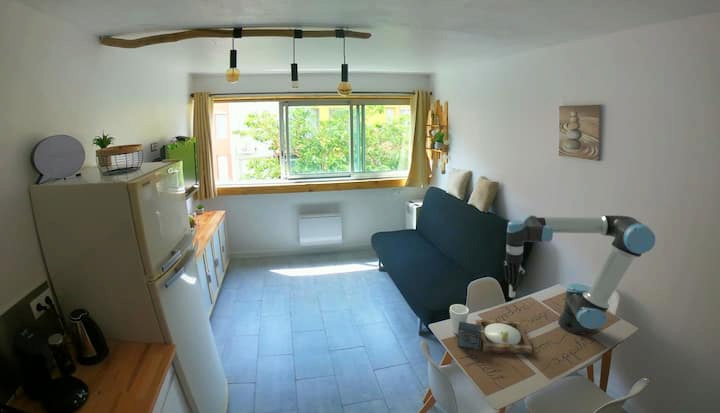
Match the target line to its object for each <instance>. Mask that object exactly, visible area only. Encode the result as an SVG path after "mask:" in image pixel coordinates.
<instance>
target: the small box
mask: <svg viewBox="0 0 720 413" xmlns="http://www.w3.org/2000/svg"><path fill="white" fill-rule="evenodd" d="M458 330H459V331H458V334H457V338H458V339H457V347H458V348H462V349H468V348H470V350H474V349H476V350H475V351H481V342H480V339H481V325H477V324H476V323H470V322H466V323H464V322H459V328H458Z"/></svg>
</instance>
